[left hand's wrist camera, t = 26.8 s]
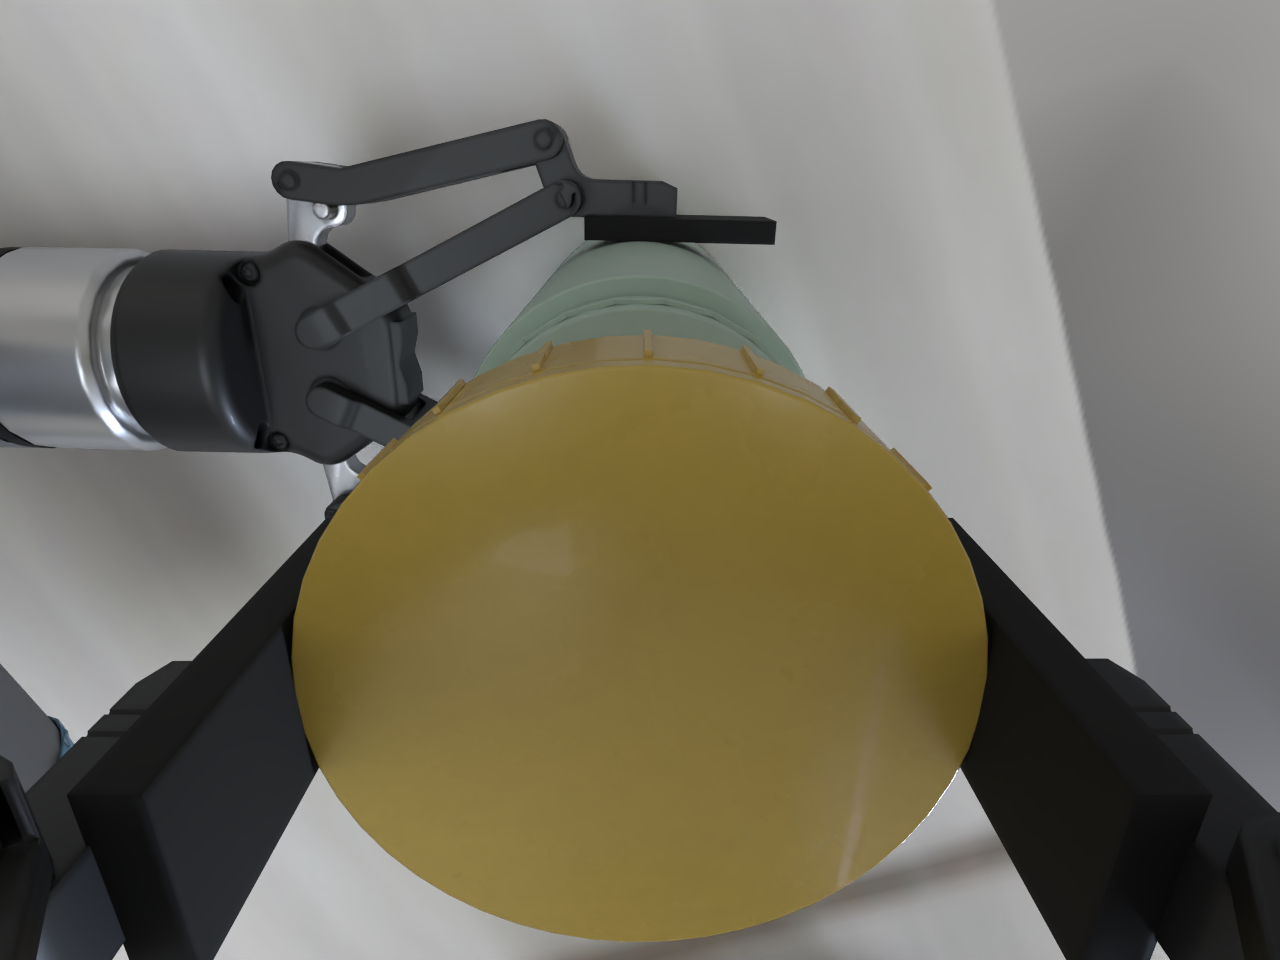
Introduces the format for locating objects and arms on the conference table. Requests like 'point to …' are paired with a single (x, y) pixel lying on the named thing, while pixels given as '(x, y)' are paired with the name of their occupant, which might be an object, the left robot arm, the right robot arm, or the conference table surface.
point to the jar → (639, 302)
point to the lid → (639, 642)
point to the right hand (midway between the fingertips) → (757, 365)
